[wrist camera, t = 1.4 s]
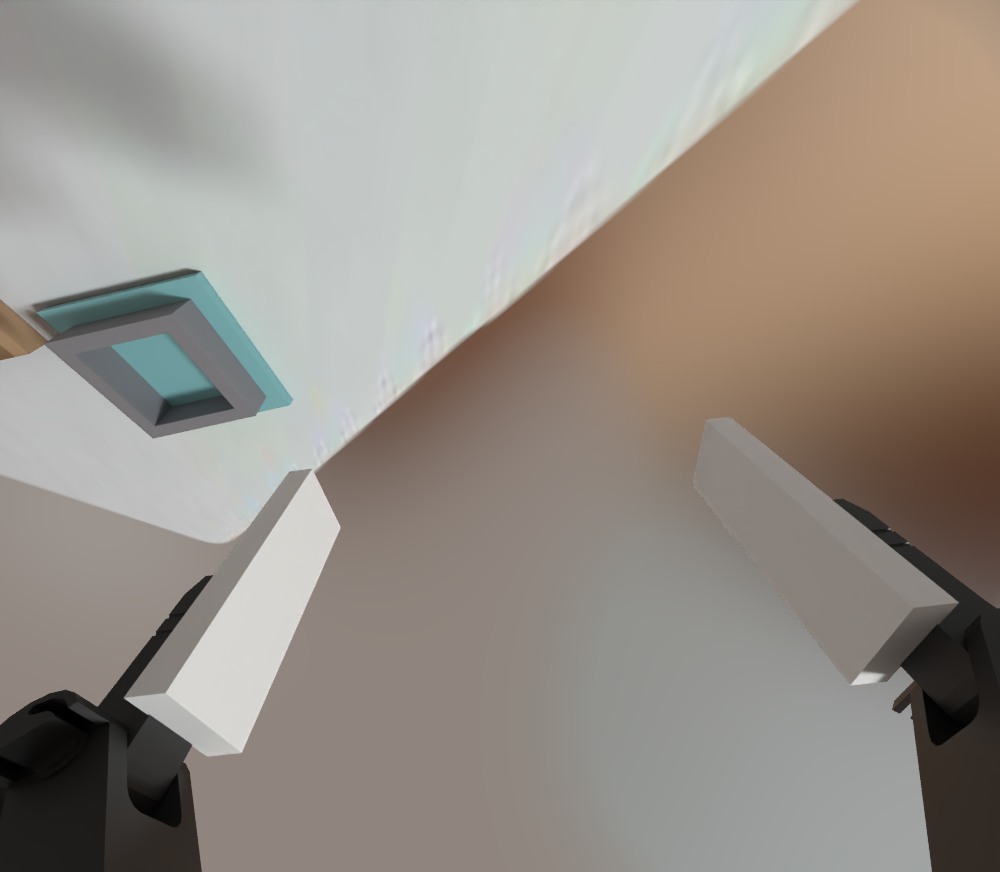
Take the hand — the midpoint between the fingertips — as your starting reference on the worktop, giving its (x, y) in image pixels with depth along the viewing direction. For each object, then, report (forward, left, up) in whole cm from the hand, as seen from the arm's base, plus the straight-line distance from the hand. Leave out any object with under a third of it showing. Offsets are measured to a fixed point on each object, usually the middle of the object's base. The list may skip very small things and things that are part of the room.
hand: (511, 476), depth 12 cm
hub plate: (+3, -27, -25) cm, 37 cm away
